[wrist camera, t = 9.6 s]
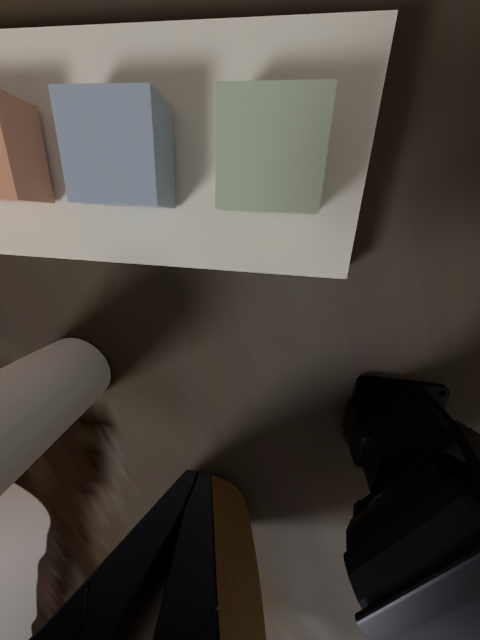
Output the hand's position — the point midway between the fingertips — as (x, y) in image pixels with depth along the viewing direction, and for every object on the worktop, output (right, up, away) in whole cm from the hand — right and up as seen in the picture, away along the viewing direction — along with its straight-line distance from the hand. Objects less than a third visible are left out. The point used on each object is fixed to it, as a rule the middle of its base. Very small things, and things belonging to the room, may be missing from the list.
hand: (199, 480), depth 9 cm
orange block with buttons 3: (-13, +15, +7) cm, 21 cm away
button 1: (+3, +14, +5) cm, 15 cm away
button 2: (-5, +15, +6) cm, 17 cm away
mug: (-15, +1, +16) cm, 22 cm away
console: (-4, +15, +9) cm, 18 cm away
